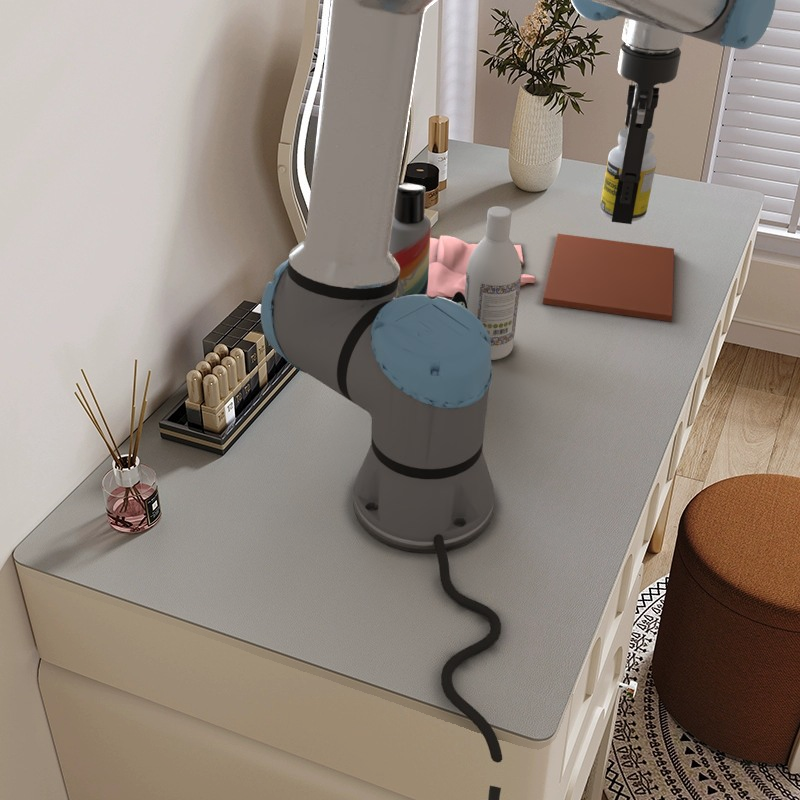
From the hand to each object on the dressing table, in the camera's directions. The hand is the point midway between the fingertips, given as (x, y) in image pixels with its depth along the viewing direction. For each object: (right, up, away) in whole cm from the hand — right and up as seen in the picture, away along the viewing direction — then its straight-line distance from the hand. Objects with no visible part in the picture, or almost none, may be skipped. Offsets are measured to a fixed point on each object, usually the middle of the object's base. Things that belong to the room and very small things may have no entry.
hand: (622, 210), depth 144 cm
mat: (0, -8, +9) cm, 12 cm away
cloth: (-21, -7, +10) cm, 24 cm away
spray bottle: (-30, -15, -2) cm, 34 cm away
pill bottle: (0, 0, 0) cm, 1 cm away
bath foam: (-20, -20, -7) cm, 29 cm away
